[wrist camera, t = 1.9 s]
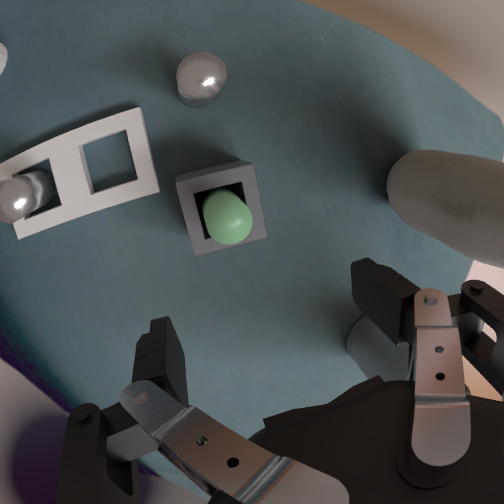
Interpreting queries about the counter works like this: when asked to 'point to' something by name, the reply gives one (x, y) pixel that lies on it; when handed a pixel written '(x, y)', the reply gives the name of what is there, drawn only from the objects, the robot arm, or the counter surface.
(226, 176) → the grey square holder
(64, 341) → the counter surface
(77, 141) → the grey flat frame
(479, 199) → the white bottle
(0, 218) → the seated billet
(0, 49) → the white cup
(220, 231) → the button
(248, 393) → the counter surface
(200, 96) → the cylinder
